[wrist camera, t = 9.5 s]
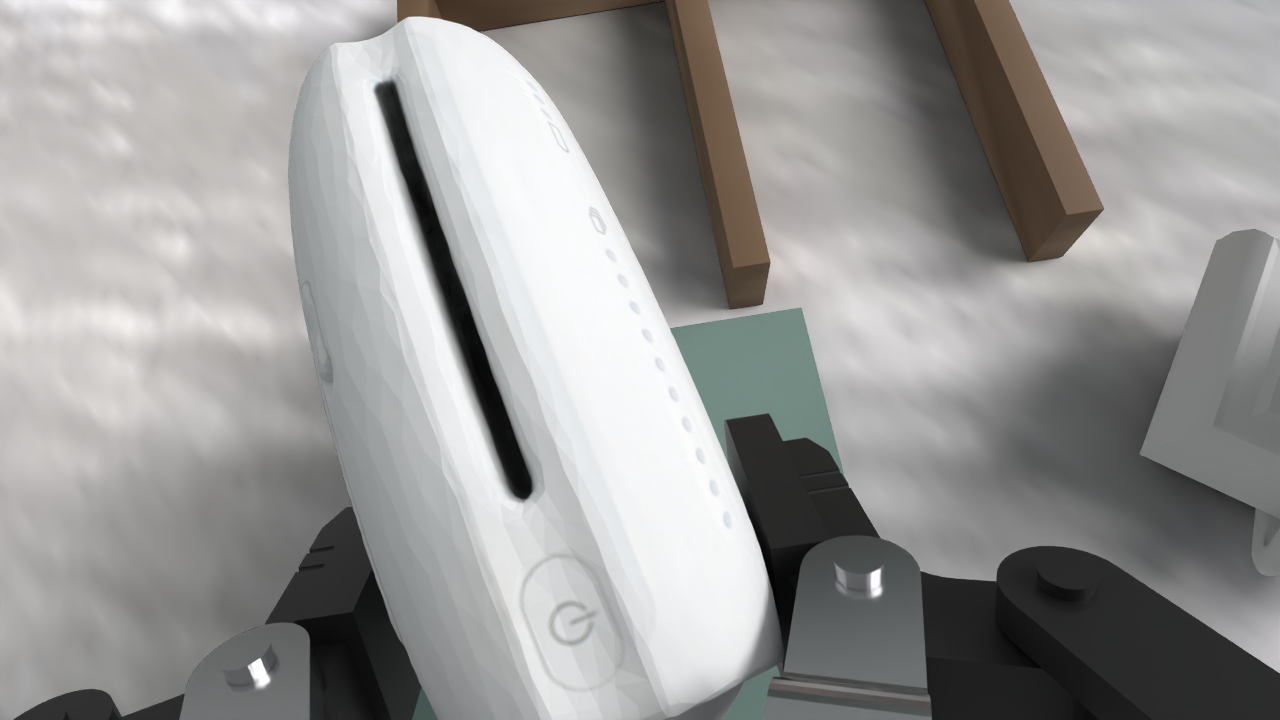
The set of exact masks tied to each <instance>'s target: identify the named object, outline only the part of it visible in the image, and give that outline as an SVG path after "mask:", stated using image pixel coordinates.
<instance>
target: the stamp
mask: <svg viewBox="0 0 1280 720" xmlns="http://www.w3.org/2000/svg"><path fill="white" fill-rule="evenodd" d="M1140 455H1142V456H1144V457H1147V458H1149V459H1151V460H1153V461H1155V462H1157V463H1160V464H1162V465H1164V466H1166V467H1168V468H1170V469H1172V470H1175V471H1177V472H1179V473H1181V474H1183V475H1185V476H1188V477H1190V478H1192V479H1194V480H1196V481H1198V482H1201V483H1203V484H1205V485H1207V486H1209V487H1211V488H1214V489H1216V490H1218V491H1220V492H1222V493H1224V494H1227V495H1229V496H1231V497H1233V498H1235V499H1237V500H1239V501H1242V502H1244V503H1246V504H1248V505H1250V506H1252V507H1255V508H1256V509H1255V519H1254V529H1253V539H1252V550H1251V557H1252V560H1253V563H1254V565H1255V568H1256V569H1257V571H1258V572H1259V573H1260V574H1262V575H1265V576H1280V238H1279V237H1276V236H1273V235H1271V234H1268V233H1265V232H1263V231H1259V230H1256V229H1251V230H1243V231H1236V232H1232V233H1230V234H1229V235H1227V236H1225V237H1223V238H1222V239H1219V240H1217V241H1216V243H1215V246H1214V249H1213V251H1212V254H1211V257H1210V260H1209V263H1208V265H1207V268H1206V271H1205V274H1204V276H1203V279H1202V282H1201V285H1200V288H1199V290H1198V293H1197V296H1196V299H1195V301H1194V304H1193V307H1192V310H1191V313H1190V315H1189V318H1188V321H1187V324H1186V327H1185V329H1184V332H1183V335H1182V338H1181V340H1180V343H1179V346H1178V349H1177V352H1176V354H1175V357H1174V360H1173V363H1172V365H1171V368H1170V371H1169V374H1168V377H1167V379H1166V382H1165V385H1164V388H1163V391H1162V393H1161V396H1160V399H1159V402H1158V404H1157V407H1156V410H1155V413H1154V416H1153V418H1152V421H1151V424H1150V427H1149V429H1148V432H1147V435H1146V438H1145V441H1144V443H1143V446H1142V449H1141V452H1140Z"/></svg>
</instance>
